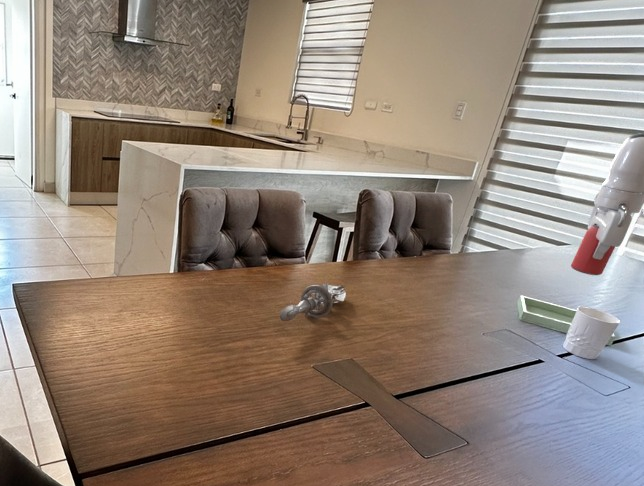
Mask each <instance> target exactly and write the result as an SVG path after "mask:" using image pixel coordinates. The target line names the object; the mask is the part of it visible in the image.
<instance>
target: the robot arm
mask: <svg viewBox="0 0 644 486" xmlns="http://www.w3.org/2000/svg"><path fill="white" fill-rule="evenodd" d="M593 204H594V205H593V209H592V211H591V214H590V217H589V220H588V222H587V230H588V229H589V228H590V227H591V226H592V225H593V224H596V226H599V229H598V232H597V234H596V238H597V239H598V240H599V243H598V246H597V248H596V250H594V253H593V255H592V256H593V258H595V259H599V260H600V259H602V258H603V256H604V254H605V253H606V251H607V250H608V249H609V248H610V246H614V247H615V248H618V247H620V246H621V245H622V243H623V242H624V240H625V237H626V235H627V233H628V230H629V228H630V225H631V224H632V220H633V216H632V214H639V213H640V212H641V210H642V208H643V206H644V132H640V133H635V134H632V135H630V136H628V137H627V138H626V139H625V141H624V142H623V143H622V144H621V146H620V148H619V149H618V151H617V153H616V154H615V157H614V158H613V160H612V162H611V164H610V167H609V173H608V176H607V178H606V179H605V180H604V181H603V183H602V184H601V186H600V188H599V191H598V192H597V193H596V195H595V196H594V202H593Z"/></svg>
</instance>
